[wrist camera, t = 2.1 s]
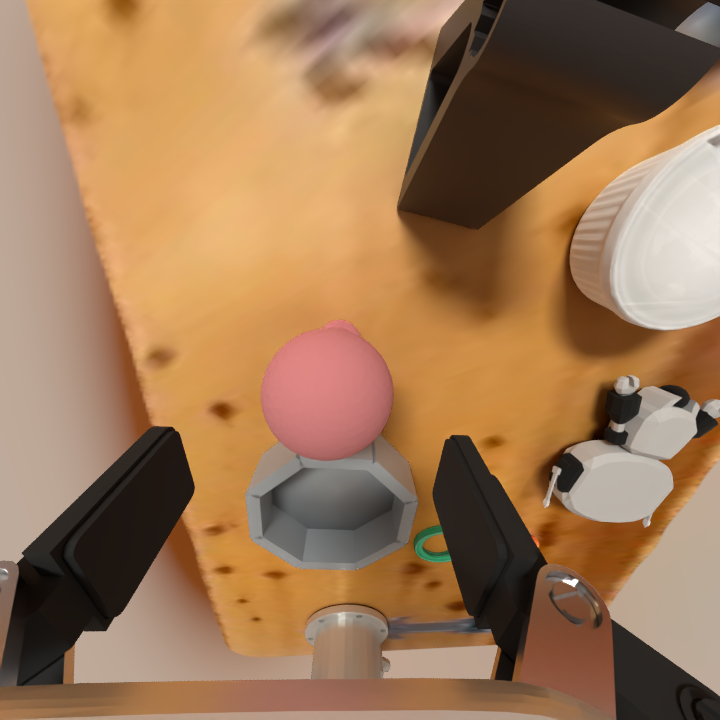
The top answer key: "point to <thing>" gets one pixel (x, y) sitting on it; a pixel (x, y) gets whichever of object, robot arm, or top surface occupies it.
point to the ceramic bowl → (332, 506)
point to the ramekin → (656, 239)
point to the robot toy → (630, 453)
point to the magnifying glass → (431, 555)
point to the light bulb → (327, 393)
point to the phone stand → (539, 94)
